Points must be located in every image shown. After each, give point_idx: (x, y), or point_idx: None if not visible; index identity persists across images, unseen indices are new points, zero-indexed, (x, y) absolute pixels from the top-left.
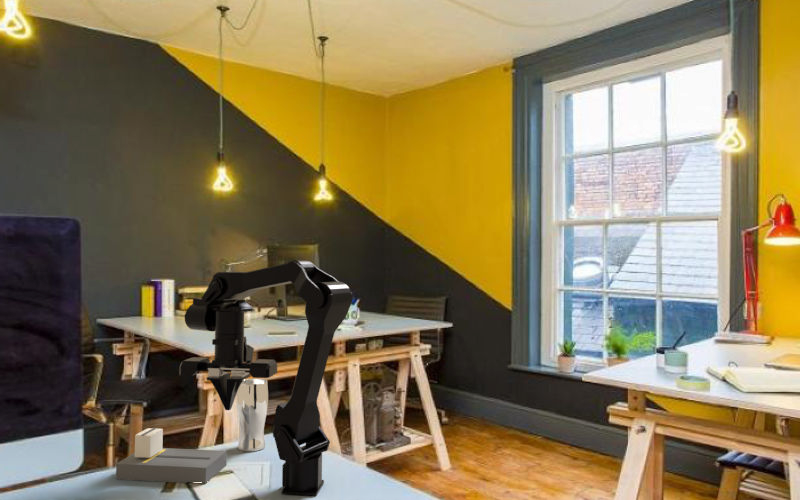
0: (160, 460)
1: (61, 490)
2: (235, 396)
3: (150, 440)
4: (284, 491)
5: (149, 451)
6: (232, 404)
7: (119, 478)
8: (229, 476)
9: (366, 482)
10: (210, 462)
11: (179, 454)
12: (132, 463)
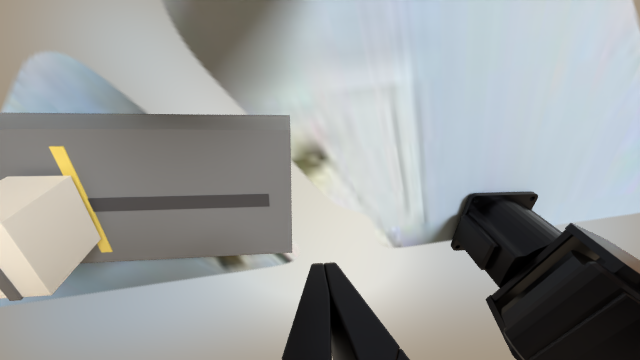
0: (137, 231)
1: None
2: (380, 323)
3: (64, 279)
4: (457, 249)
5: (87, 252)
6: (349, 284)
7: None
8: (326, 184)
9: (617, 174)
10: (286, 223)
11: (153, 182)
12: None
